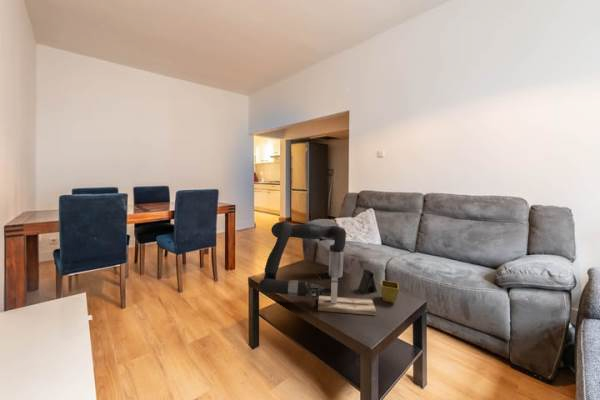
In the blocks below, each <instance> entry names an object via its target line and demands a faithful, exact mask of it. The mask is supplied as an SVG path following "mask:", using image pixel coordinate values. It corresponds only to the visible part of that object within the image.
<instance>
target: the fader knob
mask: <svg viewBox="0 0 600 400" xmlns="http://www.w3.org/2000/svg"><path fill="white" fill-rule="evenodd" d="M330 278H331V284H330V288H331V293H330V296H331V303H337V297H338V287H339V286H338V285H339V284H338V283H339V280H338V279H339V278H334V277H330Z"/></svg>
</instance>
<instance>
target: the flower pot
mask: <svg viewBox="0 0 600 400" xmlns="http://www.w3.org/2000/svg"><path fill="white" fill-rule="evenodd" d="M380 287H381V289H380V291H381V297H382V300H383V302H387V303H393V304H394V303H395V302H396V300H397V299H398V295H399V292H400V291H399V290H400V288H399V282H395V281H390V280H389V281H388V280H381V286H380Z"/></svg>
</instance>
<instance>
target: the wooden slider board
mask: <svg viewBox="0 0 600 400" xmlns="http://www.w3.org/2000/svg"><path fill="white" fill-rule="evenodd" d="M317 306H318V307H317V311H318V312H332V313H345V314H355V315H367V316H369V315H370V316H377V309H376V306H375V304H374V301H373V299H372V298H371V299H370V298H369V299H368V298H358V297H357V298H356V297H355V298H354V297H341V296H337V303H331V295H329V296H328V295H320V296H318V303H317Z"/></svg>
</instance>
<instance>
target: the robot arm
mask: <svg viewBox="0 0 600 400" xmlns="http://www.w3.org/2000/svg"><path fill="white" fill-rule="evenodd" d="M270 231H271V234H272V235H273V236H274V237H275V238H276V242H275V244H274V246H273V248H272V249H271V252H270V253H269V255H268V257H267V260H266V264H265V267H264V276H263V279H261V280H260V281H259V283H258V289H259V291H260V292H261V293H264V294H279V295H289V296H292V297H293V296H294V297H307V295H311V297H312V298H315V297H319V296H323V294H331V287H325V286H323V284H321V283H318V282H316V281H315V282H313V283H310V284H309V283H308V282H307V281H308V280H307V281H306V280H286V279H285V280H283V279H281V280H280V279H277V273H278V272H279V271H278V270H279V267H280V263H281V260H282V257H283V254H284V250H285V248H286V246H287V243H288V242H289V239H290V238H295V239H296V238H297V239H303V240H317V239H321V238H326V239H331V240H332V241H334V243H333V244H331V245H330V246H329V257H328V259H329V261H328V276H329V277H330V278H331V277H334V278H338V279H340V278H342V277H343V272H344V271H343V270H344V269H343V267H344V251H345V250H344V249H345V246H346V240H347V239H346V238H347V233H346V229H345V228H343V227H342V226H341V227H340V226H338V225H329V226H328V225H327V226H326V225H325V226H323V225H319V224H313V223H302V224H301V223H299V224H292V223H290V222H289V221H287V220H286V221H285V220H282V221H279V222H276V223H274V224H273V225H272V226H271V230H270Z"/></svg>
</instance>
